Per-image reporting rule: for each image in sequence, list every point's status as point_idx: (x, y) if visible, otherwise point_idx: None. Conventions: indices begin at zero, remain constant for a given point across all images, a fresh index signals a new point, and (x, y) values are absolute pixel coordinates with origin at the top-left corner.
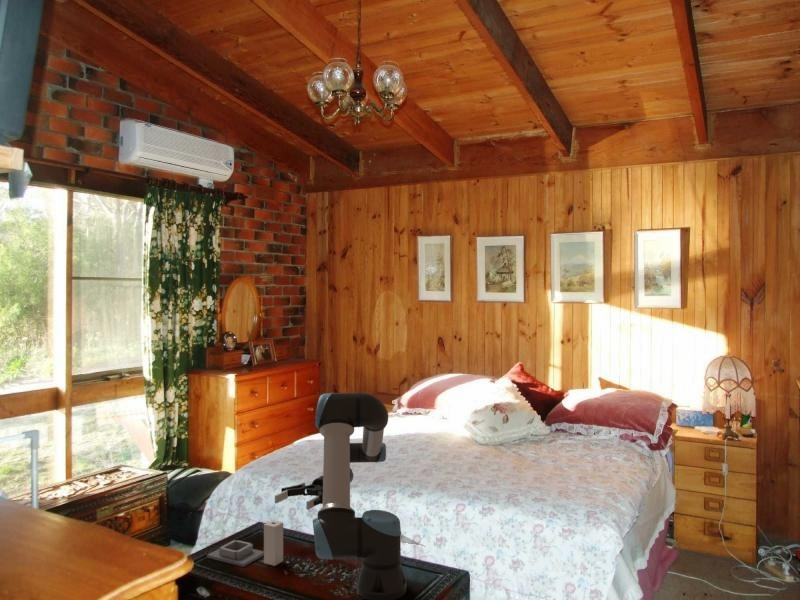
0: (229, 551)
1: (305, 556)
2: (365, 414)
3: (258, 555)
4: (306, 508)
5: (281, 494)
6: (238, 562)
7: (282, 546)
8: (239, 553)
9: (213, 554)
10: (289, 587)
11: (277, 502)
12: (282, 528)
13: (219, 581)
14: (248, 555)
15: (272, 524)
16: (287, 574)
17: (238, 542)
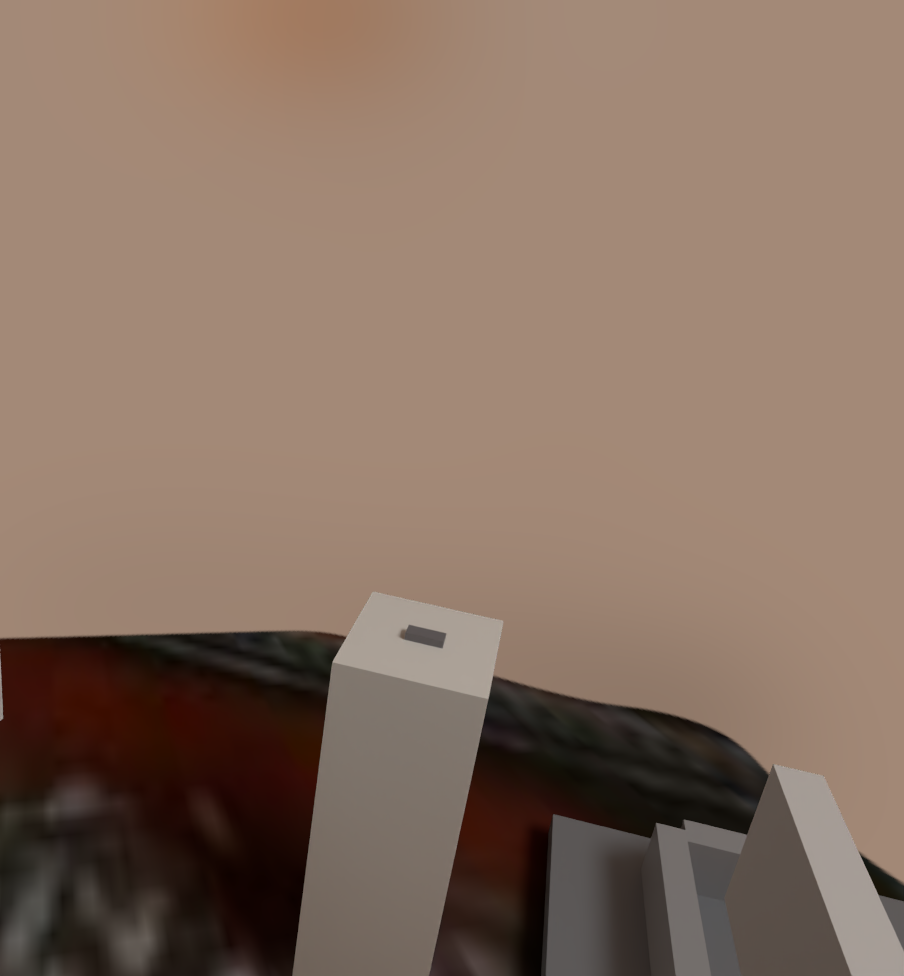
0: (737, 837)
1: None
2: None
3: (547, 966)
4: (1, 701)
5: (820, 941)
6: (604, 828)
7: (308, 868)
8: (652, 841)
9: (888, 917)
10: (147, 673)
11: (735, 921)
12: (329, 712)
13: (557, 695)
14: (629, 951)
15: (422, 625)
16: (191, 790)
17: None
